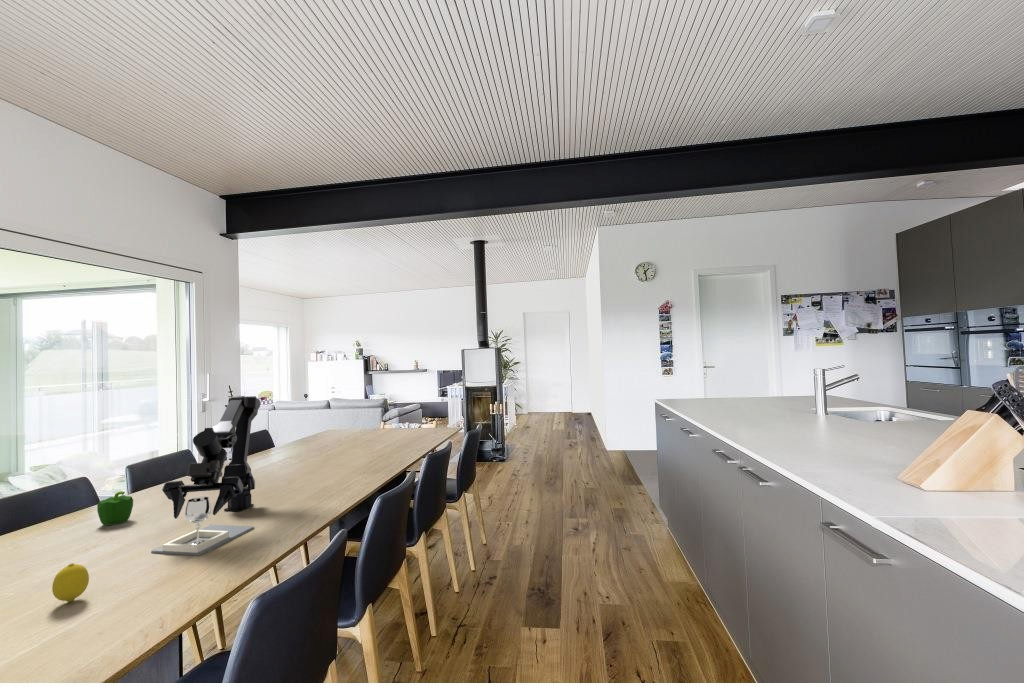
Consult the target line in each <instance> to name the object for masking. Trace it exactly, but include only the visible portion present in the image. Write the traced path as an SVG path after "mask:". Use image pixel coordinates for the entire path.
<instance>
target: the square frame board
mask: <svg viewBox="0 0 1028 687" xmlns="http://www.w3.org/2000/svg"><path fill="white" fill-rule="evenodd" d="M254 529H255V526H253V525H251V526H250V525H231V524H230V525H227V524H209V525H207V526H204V527H202V528H200V529H199V539H200V540H206V541H204V542H202V543H200V544H198V545H190V544H189V543H190V542H193V541H195V540H196V538H197V530H196V529H195V530H193V531H191V532H189V533H186V534H184V535H181V536H178V537H177V538H175V539H172V540H170V541H169V542H166V543H164V544H162V545H161V546H159V547H157V548H154V549H153V550H151V554H160V555H161V554H165V555H166V554H167V555H168V554H169V555H179V554H180V555H183V556H198V555H199V556H198V557H200V556H203V555H205V554H207V553H208V551H209V552H210V550H211V551H213V550H214V548H215V549H216V547H217V548H218V547H221V546H223V545H224V544H226V543H228V542H230V541H232V540H234V539H236V538H238V537H240V536H242V535H243V534H246V533H248V532H250V531H252V530H254ZM212 549H213V550H212ZM206 552H207V553H206ZM204 553H205V554H204ZM202 554H203V555H202ZM180 555H179V556H180Z"/></svg>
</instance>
